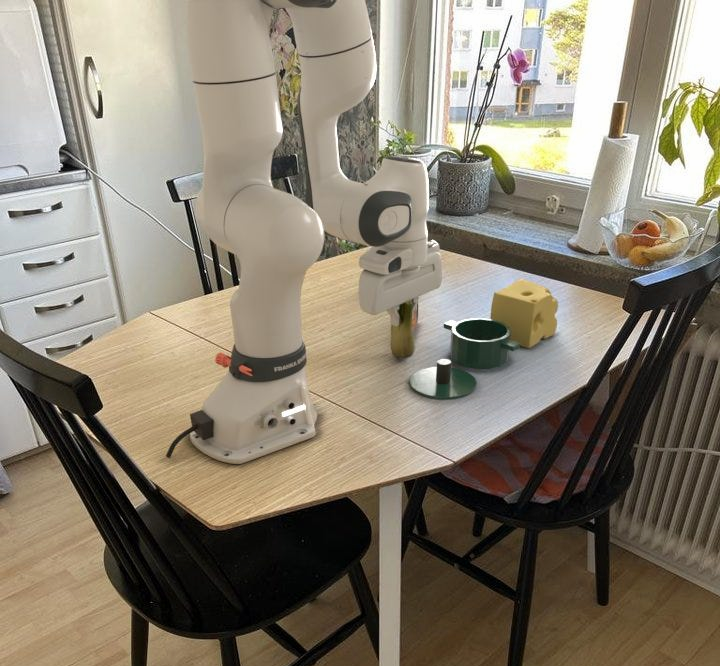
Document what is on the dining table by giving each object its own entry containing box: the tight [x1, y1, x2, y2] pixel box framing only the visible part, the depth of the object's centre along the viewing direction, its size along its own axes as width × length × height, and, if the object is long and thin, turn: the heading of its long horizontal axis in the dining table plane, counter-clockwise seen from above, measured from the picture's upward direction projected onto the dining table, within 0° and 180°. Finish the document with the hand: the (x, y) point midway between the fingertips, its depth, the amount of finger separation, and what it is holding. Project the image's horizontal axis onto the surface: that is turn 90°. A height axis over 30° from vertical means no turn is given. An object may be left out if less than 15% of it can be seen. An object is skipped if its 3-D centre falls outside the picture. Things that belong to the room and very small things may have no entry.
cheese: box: [489, 278, 559, 349], centre depth 150 cm, size 10×11×10 cm
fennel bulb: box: [389, 301, 416, 360], centre depth 140 cm, size 6×5×12 cm
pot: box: [443, 317, 521, 370], centre depth 142 cm, size 11×17×6 cm
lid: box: [409, 358, 477, 400], centre depth 133 cm, size 12×12×5 cm
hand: (402, 322), depth 139 cm, fingers closed on fennel bulb
